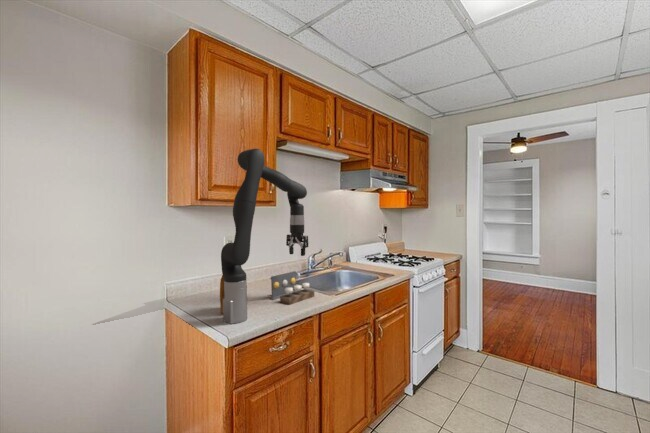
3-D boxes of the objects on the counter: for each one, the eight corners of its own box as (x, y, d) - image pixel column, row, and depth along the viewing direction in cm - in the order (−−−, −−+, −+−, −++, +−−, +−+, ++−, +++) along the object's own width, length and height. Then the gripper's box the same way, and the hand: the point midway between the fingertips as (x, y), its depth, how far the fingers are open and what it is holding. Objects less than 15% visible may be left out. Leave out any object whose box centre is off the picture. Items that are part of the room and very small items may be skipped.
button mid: (297, 291, 158) (297, 287, 158) (292, 289, 161) (292, 286, 161) (303, 289, 161) (302, 285, 161) (297, 288, 164) (297, 284, 164)
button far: (305, 288, 162) (305, 284, 162) (300, 287, 165) (300, 283, 165) (310, 287, 166) (310, 283, 165) (305, 286, 168) (305, 282, 168)
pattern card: (273, 300, 160) (272, 277, 160) (269, 299, 162) (269, 276, 162) (298, 292, 174) (297, 271, 173) (294, 291, 176) (294, 270, 175)
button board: (289, 304, 152) (289, 298, 152) (280, 302, 157) (280, 296, 156) (314, 296, 165) (314, 290, 165) (305, 294, 170) (305, 288, 170)
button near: (288, 293, 153) (288, 289, 153) (283, 292, 156) (283, 288, 156) (294, 292, 156) (294, 288, 156) (289, 290, 159) (289, 286, 159)
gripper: (282, 223, 162) (282, 254, 162) (301, 224, 152) (301, 257, 153) (293, 223, 167) (293, 253, 168) (311, 224, 158) (312, 255, 158)
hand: (297, 255), depth 160 cm, fingers open, 8 cm apart
